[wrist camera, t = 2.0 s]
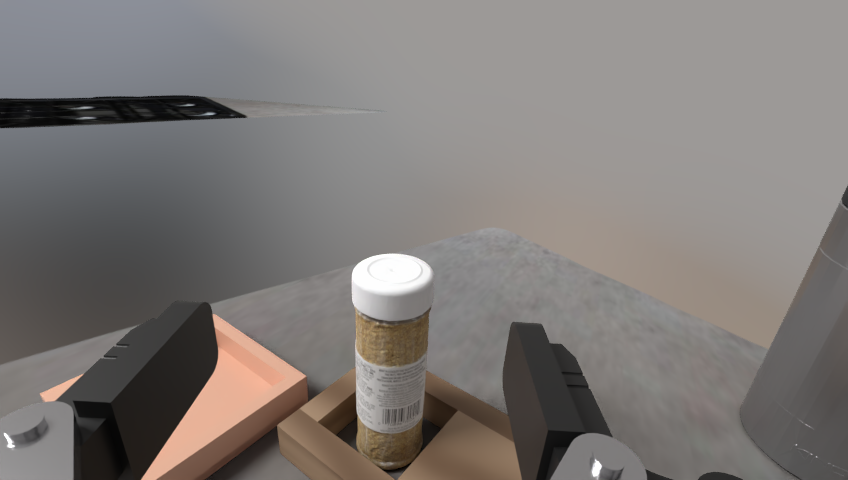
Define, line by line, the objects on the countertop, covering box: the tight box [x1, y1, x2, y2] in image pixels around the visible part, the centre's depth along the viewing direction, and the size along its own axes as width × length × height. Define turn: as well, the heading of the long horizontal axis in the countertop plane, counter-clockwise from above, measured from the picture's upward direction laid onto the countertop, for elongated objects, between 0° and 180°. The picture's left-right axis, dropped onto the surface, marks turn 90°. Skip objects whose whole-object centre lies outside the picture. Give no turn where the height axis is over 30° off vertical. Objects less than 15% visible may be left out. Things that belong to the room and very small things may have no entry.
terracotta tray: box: [40, 314, 308, 480], centre depth 30 cm, size 12×12×2 cm
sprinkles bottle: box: [352, 254, 434, 470], centre depth 26 cm, size 5×5×13 cm
